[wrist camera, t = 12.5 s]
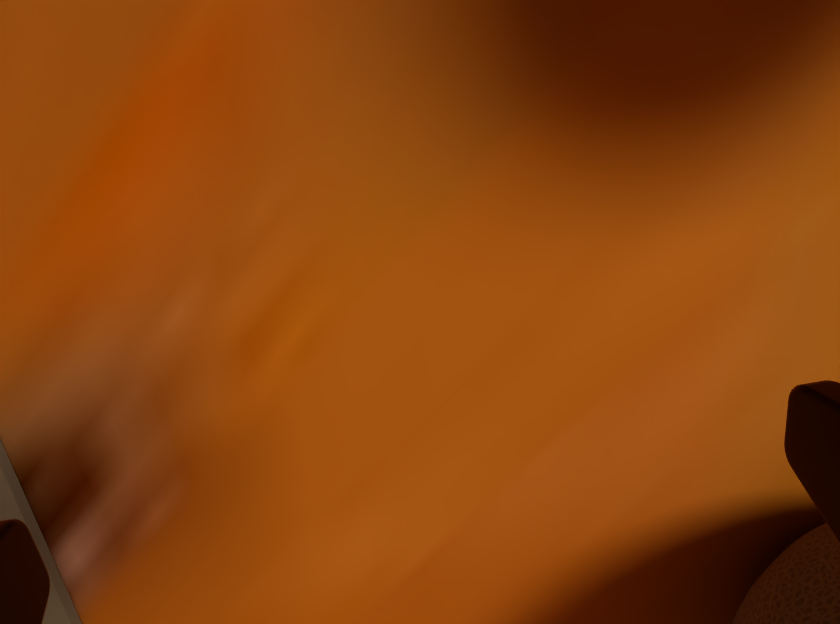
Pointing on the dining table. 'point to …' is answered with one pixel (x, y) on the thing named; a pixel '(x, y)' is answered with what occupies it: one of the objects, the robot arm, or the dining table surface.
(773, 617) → the cantaloupe
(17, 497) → the mat
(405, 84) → the dining table surface
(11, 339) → the dining table surface
